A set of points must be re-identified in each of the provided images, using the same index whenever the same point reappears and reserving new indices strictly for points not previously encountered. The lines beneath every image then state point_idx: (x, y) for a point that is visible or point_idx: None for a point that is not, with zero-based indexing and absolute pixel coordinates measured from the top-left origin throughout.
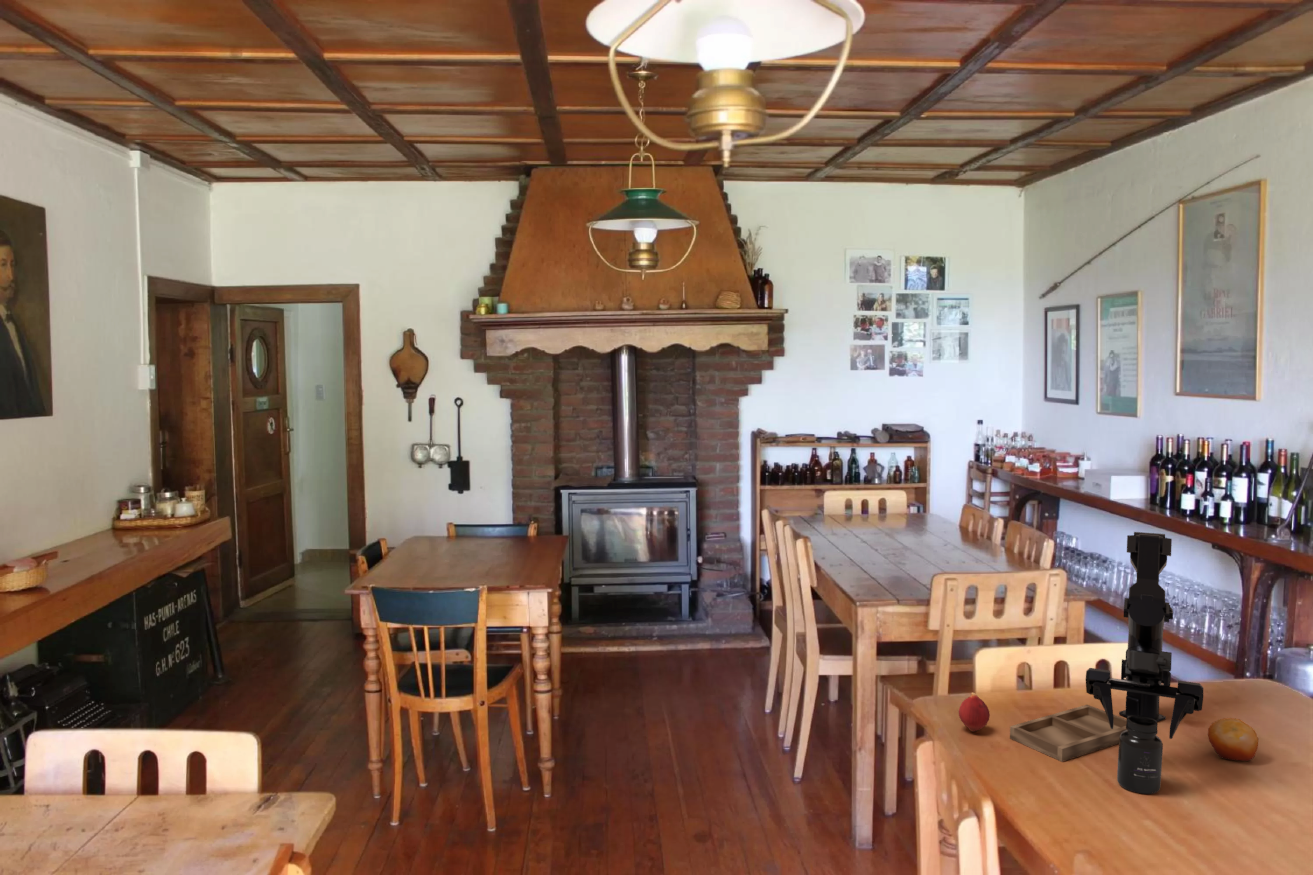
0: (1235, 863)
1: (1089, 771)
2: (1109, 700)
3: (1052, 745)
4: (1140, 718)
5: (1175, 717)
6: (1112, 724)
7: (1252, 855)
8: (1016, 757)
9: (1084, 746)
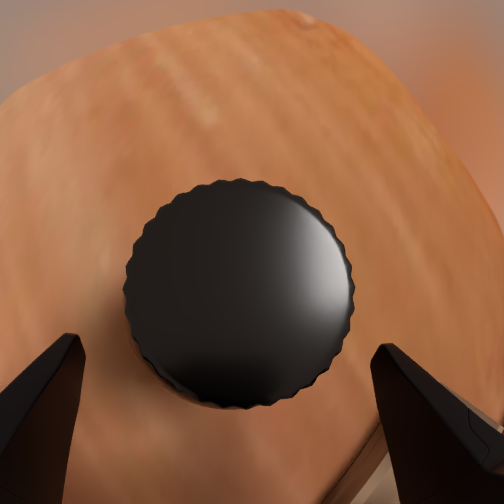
0: (90, 56)
1: (349, 349)
2: (479, 444)
3: (447, 387)
4: (256, 330)
5: (3, 415)
6: (388, 349)
7: (53, 87)
8: (476, 335)
9: (372, 459)
